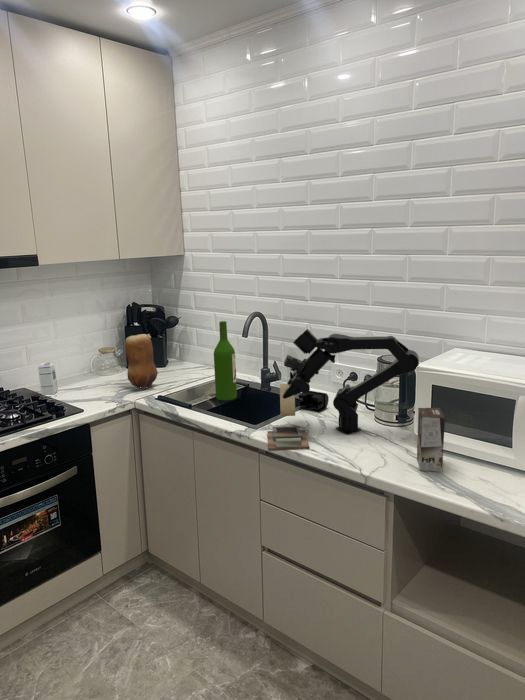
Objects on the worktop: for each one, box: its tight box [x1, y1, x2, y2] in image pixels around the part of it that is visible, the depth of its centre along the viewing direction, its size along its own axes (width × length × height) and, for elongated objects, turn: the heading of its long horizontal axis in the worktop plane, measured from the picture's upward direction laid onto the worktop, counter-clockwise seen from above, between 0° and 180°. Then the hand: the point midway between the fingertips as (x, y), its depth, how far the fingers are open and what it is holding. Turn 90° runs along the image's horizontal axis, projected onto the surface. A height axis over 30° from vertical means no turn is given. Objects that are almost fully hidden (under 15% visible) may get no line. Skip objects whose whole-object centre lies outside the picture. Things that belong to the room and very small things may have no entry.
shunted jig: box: [267, 425, 310, 451], centre depth 176 cm, size 15×13×3 cm
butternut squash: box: [124, 333, 159, 389], centre depth 241 cm, size 14×13×25 cm
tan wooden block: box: [279, 383, 296, 417], centre depth 184 cm, size 5×5×10 cm
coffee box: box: [416, 407, 446, 472], centre depth 153 cm, size 9×6×16 cm
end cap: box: [298, 390, 329, 414], centre depth 207 cm, size 10×7×7 cm
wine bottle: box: [213, 320, 238, 402], centre depth 222 cm, size 9×9×32 cm
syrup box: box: [37, 362, 59, 396], centre depth 235 cm, size 6×6×14 cm
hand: (283, 395), depth 184 cm, fingers closed on tan wooden block, 5 cm apart
